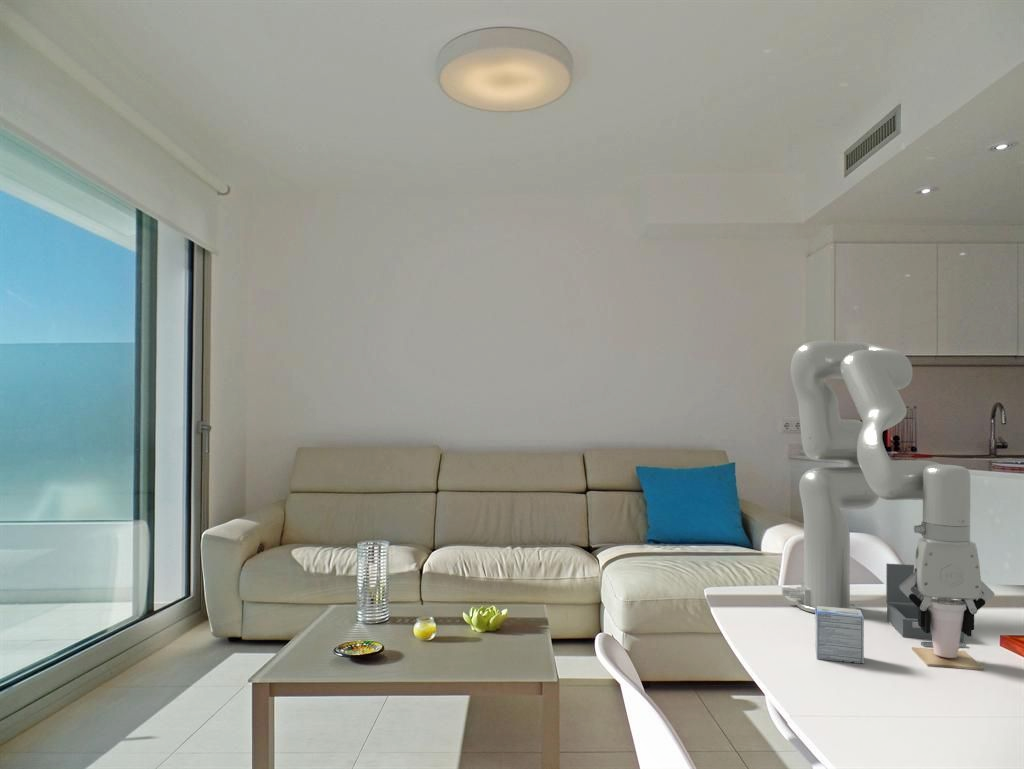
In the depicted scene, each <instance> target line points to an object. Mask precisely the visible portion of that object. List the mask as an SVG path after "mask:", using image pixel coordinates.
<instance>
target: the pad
mask: <svg viewBox="0 0 1024 769" xmlns="http://www.w3.org/2000/svg"><path fill="white" fill-rule="evenodd" d="M911 650H912V651H913V652H914V653H915V655H917V656H918V657H919V659H920V660H921V661H922V662H923V661H924V662H923V663H924V664H925V665H926V666H927V667H938V668H949V669H951V668H952V669H961V668H964V670H965V669H966V670H974V669H979V670H978V671H985V668H984V666H983V665H981V664H980V663H979V662H978V661H977V660H976V659H975V658H973V657H972V656H971V655H970V654H969V653H968V652H967V651H965V650H958V655H957V657H955V658H947V657H942V656H939V655H936V654H935V653H934V649H933V648H931V647H915V646H912V647H911ZM950 667H951V668H950Z"/></svg>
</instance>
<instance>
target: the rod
mask: <svg viewBox="0 0 1024 769" xmlns="http://www.w3.org/2000/svg"><path fill="white" fill-rule="evenodd" d="M920 646H922V648H933V641H920ZM959 648H960V649H961V648H964V649H966V648H967V644H966V643H965V642H959Z"/></svg>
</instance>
